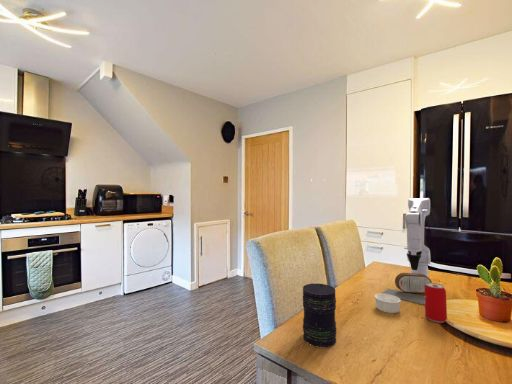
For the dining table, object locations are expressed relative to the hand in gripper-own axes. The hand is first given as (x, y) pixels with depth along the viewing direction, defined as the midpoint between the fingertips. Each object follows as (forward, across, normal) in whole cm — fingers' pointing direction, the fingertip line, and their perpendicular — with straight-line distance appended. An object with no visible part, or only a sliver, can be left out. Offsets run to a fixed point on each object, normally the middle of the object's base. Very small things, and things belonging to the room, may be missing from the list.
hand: (414, 267), depth 118 cm
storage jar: (+10, +65, -22) cm, 70 cm away
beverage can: (+10, +31, +7) cm, 33 cm away
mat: (+10, +12, -2) cm, 16 cm away
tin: (+10, +5, 0) cm, 11 cm away
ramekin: (+10, +30, -8) cm, 33 cm away
